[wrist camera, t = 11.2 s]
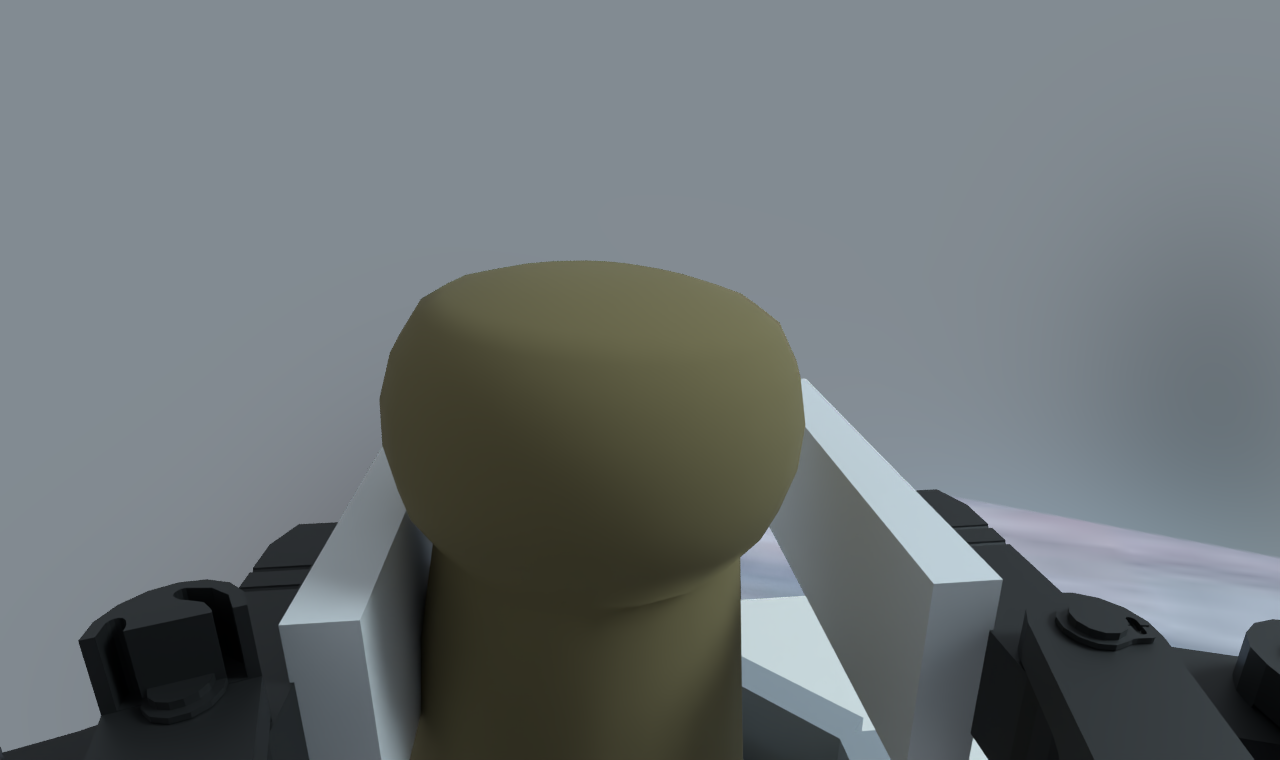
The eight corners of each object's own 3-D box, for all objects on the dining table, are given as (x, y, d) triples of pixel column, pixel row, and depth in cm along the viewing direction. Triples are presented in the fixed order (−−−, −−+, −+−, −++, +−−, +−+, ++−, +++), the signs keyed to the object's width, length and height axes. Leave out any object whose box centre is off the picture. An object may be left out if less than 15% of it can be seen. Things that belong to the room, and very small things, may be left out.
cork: (479, 1302, 8) (483, 383, 5) (328, 872, 13) (272, 240, 9) (824, 970, 12) (972, 308, 8) (611, 727, 16) (649, 232, 13)
